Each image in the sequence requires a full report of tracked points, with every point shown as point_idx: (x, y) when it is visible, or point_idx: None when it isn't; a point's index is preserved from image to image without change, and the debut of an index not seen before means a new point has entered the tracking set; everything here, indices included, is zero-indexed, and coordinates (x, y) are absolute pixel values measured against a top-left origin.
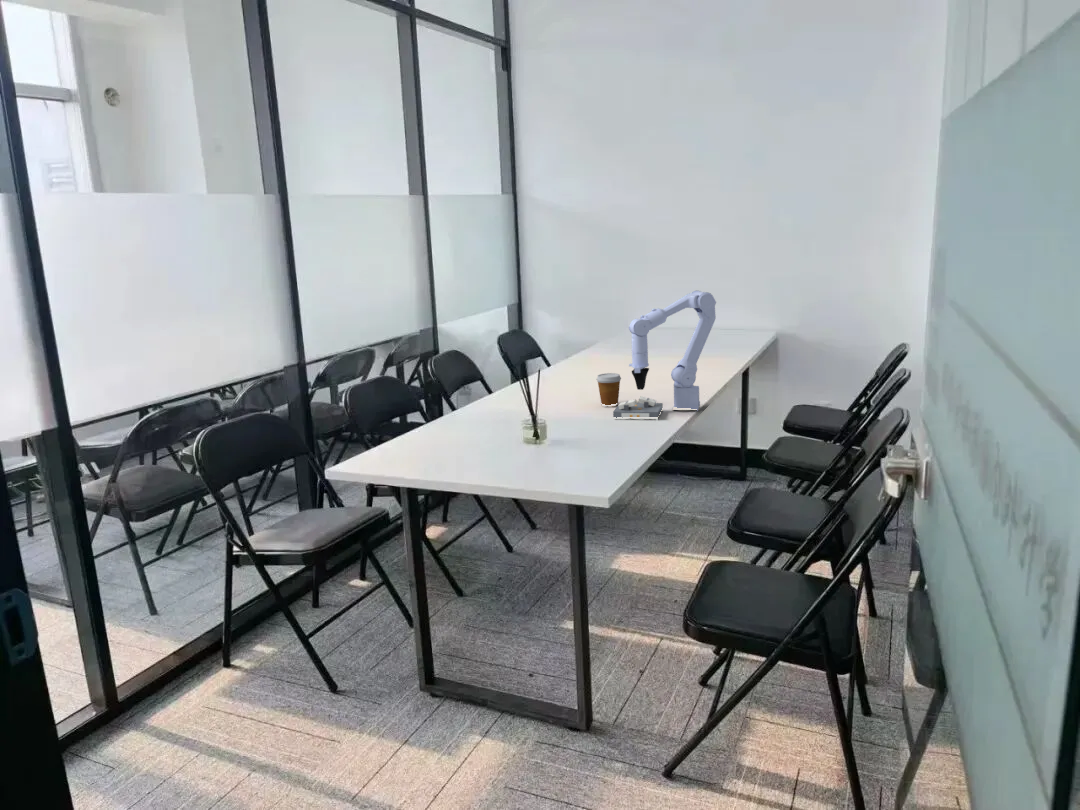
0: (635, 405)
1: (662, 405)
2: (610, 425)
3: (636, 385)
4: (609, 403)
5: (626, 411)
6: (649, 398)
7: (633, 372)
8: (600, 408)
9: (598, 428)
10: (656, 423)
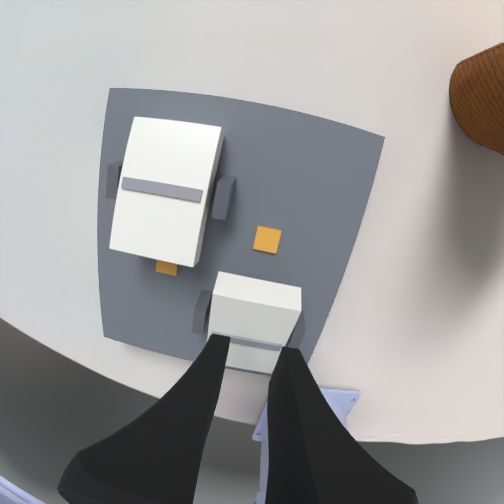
0: (255, 241)
1: None
2: (40, 98)
3: (200, 355)
4: (460, 87)
5: (105, 176)
6: (279, 350)
7: (64, 479)
8: (433, 36)
9: (13, 60)
10: (74, 299)
